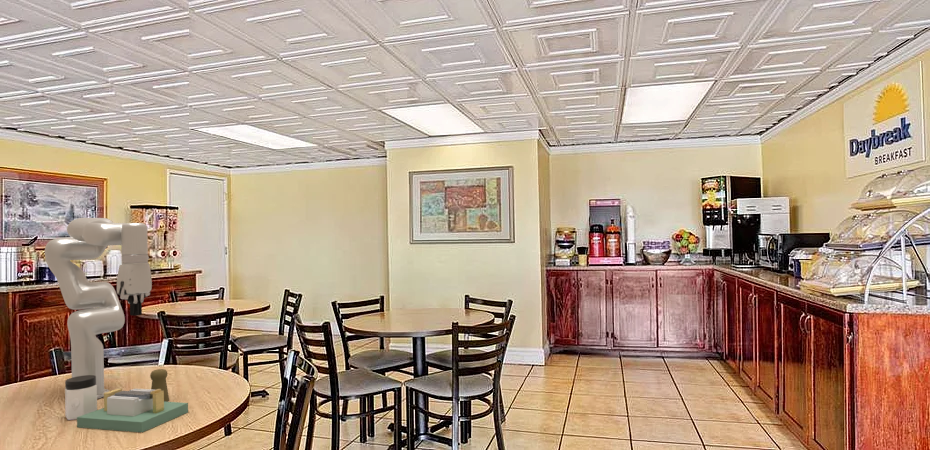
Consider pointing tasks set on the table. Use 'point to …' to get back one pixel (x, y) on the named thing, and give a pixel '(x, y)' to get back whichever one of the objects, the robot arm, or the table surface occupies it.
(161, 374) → the cork
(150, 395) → the strap
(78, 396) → the jar
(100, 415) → the board
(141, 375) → the table surface
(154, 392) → the lug
